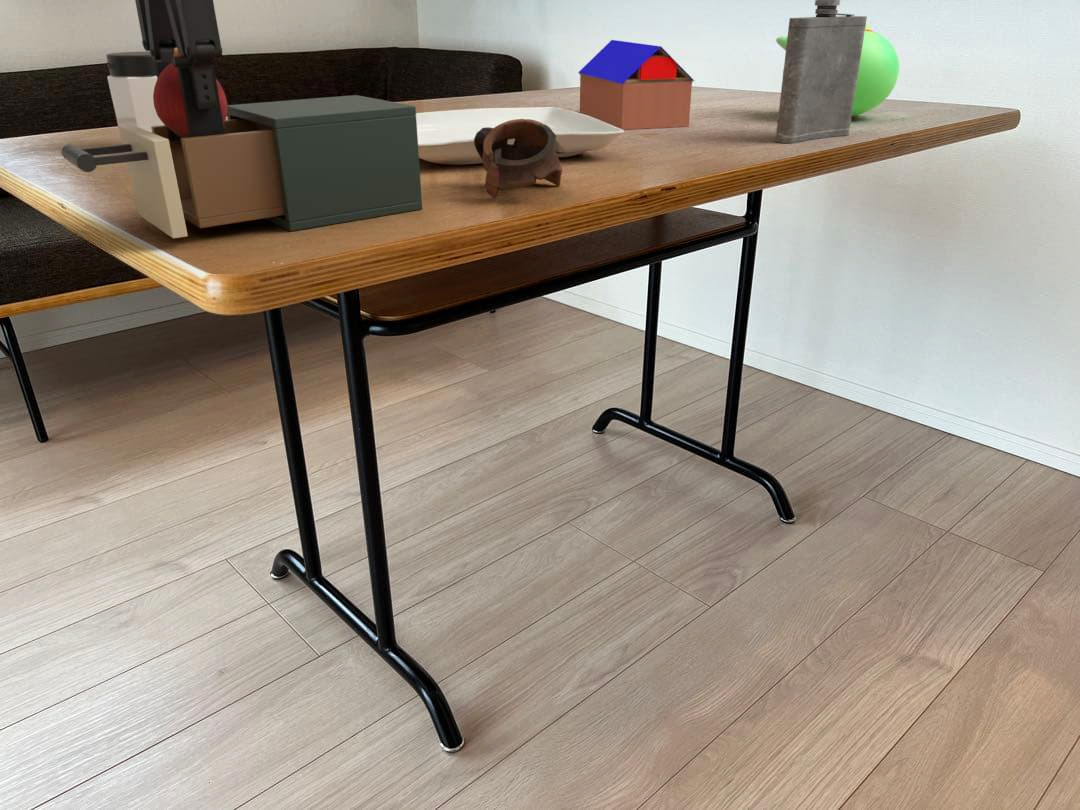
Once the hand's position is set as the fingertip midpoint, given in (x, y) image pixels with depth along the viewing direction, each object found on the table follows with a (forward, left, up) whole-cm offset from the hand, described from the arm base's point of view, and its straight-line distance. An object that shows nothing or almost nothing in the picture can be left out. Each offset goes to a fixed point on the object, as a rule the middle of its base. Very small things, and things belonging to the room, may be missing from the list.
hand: (197, 143), depth 72 cm
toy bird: (-8, +106, -8) cm, 106 cm away
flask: (+3, +85, -8) cm, 85 cm away
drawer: (0, -1, -6) cm, 7 cm away
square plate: (-18, +44, -8) cm, 48 cm away
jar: (-49, +9, -8) cm, 50 cm away
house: (-27, +78, -8) cm, 83 cm away
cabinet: (0, +12, -7) cm, 14 cm away
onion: (0, 0, 0) cm, 0 cm away
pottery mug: (+5, +31, -8) cm, 32 cm away
